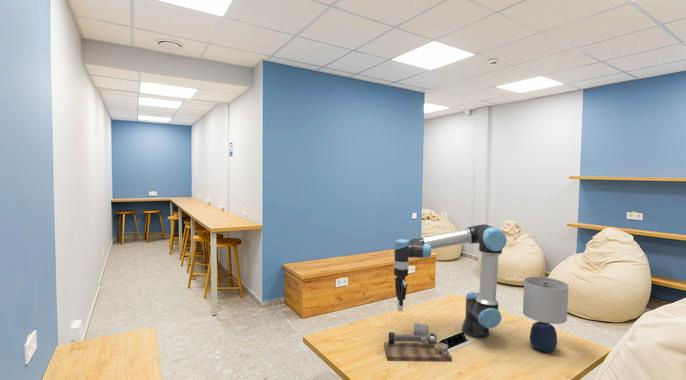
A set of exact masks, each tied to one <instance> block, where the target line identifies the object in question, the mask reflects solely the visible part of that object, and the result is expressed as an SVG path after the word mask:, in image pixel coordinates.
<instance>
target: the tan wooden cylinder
mask: <svg viewBox="0 0 686 380" xmlns="http://www.w3.org/2000/svg"><path fill="white" fill-rule="evenodd" d="M441 350H442V345H441V344H435V353H436V354H441Z"/></svg>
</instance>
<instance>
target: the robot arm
mask: <svg viewBox="0 0 686 380" xmlns="http://www.w3.org/2000/svg"><path fill="white" fill-rule="evenodd" d="M464 244H469V245H471V244H479V245H478V251H479V253H480V254H481V255H480V256H481V258H480V259H481V260H480V271H479V272H480V275H479V277H480V278H479V292H468V293H466V295H465V318H464V321H463V323H462V325H461V330H462V331H461V332H464V333H463V334H465V335H466V336H469V337H472V338H477V339H484V338H488V337H489V336H490V329H493V328H496V327H497V326H499V325H500V323H501V322H502V314H501V312H500V310H499V301H498V300H497V287H498V286H497V285H498V272H499V256H501V255H502V254H503V250H504V248H505V247H506V245H507V236H506V234H505V232H504V231H502V230H501V229H500V228H498V227H495V226H492V225H489V224H477V225H471V226H468V227H465V228H464V229H461V230H457V231H451V232H445V233H440V234H436V235H430V236H429V235H428V236H425V237H418V238H416V237H411V238H409V239H404V238H403V239H402V238H400V239H399V238H398V239H396V240H395V242H394V262H393V265H394V268H393V275H394V276H395V277H394V282H395V296H396V298H397V305H396V306H397V307H396V308H397V309H396V310H397V312H404V300H406V296H407V287H408V283H406V277H408V276H409V269H408V268H409V258H413V259H417V258H418V259H428V258H431V256H432V250H434V249H441V248H446V247H451V246H457V245H464Z"/></svg>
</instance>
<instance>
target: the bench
mask: <svg viewBox="0 0 686 380" xmlns="http://www.w3.org/2000/svg"><path fill="white" fill-rule="evenodd" d="M435 344H441V345H442V350H441V354H436V353H435ZM435 344H432V343H429V342H427V343H421V342H405V341H395V343H394V344H389V343H388V341H386V342H383V348H384V351H385V355H386V360H387V361H388V362H390V361H392V362H393V361H394V362H399V361H400V362H403V361H404V362H452V361H453V357H452V355H451V354H450V352H449V345H448V344H446V343H444V342H437V343H435Z"/></svg>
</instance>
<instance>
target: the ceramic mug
mask: <svg viewBox="0 0 686 380" xmlns="http://www.w3.org/2000/svg"><path fill="white" fill-rule="evenodd" d="M428 334H429V326H428V325H427V324H423V323H417V322H414V324H413V335H428Z"/></svg>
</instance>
